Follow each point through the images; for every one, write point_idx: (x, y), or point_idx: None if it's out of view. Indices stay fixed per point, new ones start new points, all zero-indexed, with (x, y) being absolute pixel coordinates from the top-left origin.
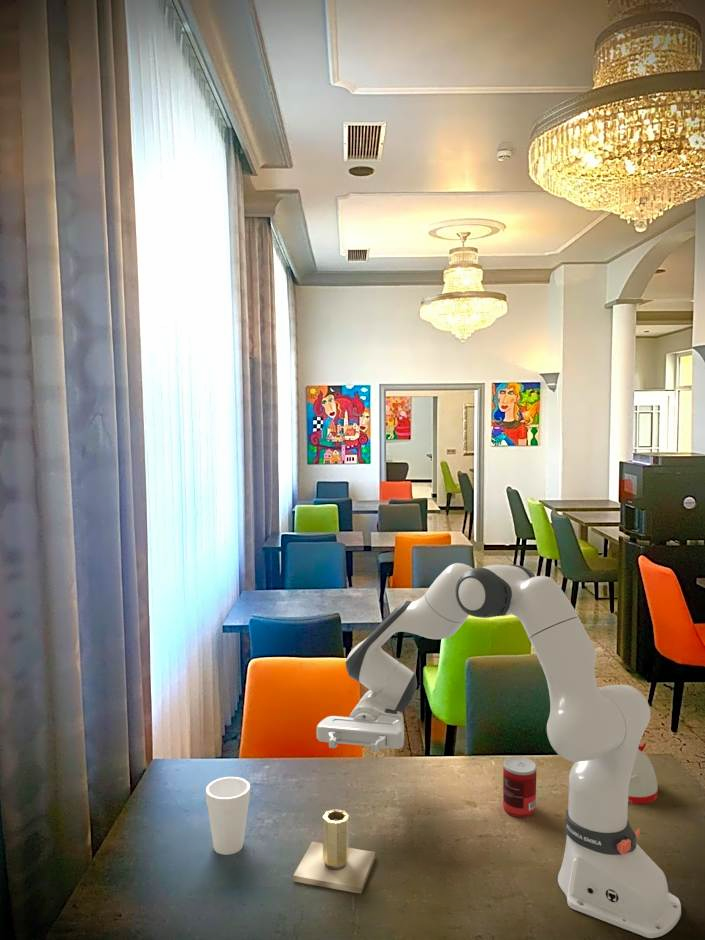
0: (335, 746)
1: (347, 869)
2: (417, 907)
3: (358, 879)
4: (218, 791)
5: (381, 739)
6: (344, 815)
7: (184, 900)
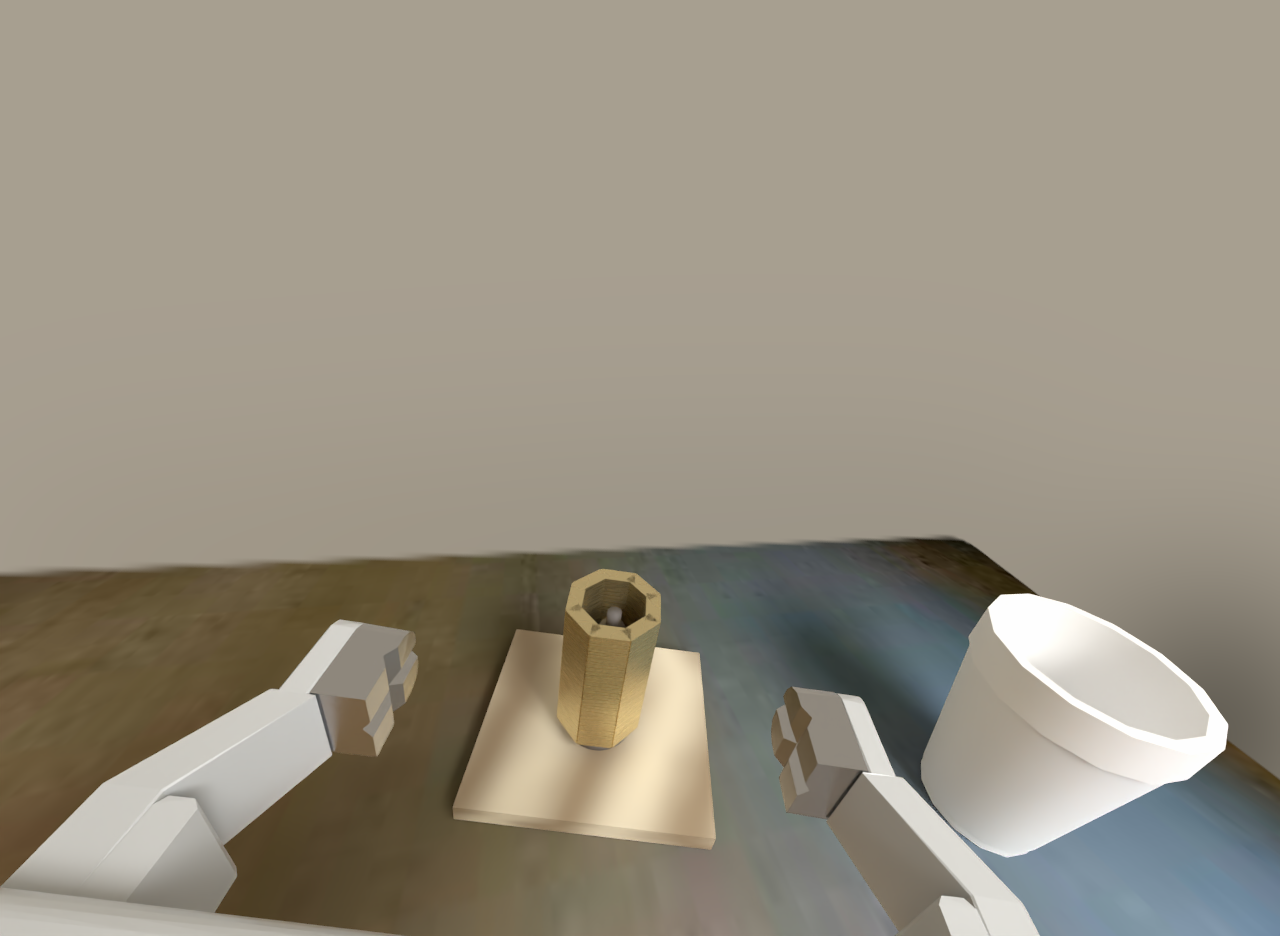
0: (777, 730)
1: (557, 692)
2: (375, 613)
3: (523, 656)
4: (1164, 735)
5: (197, 738)
6: (583, 610)
7: (868, 594)
